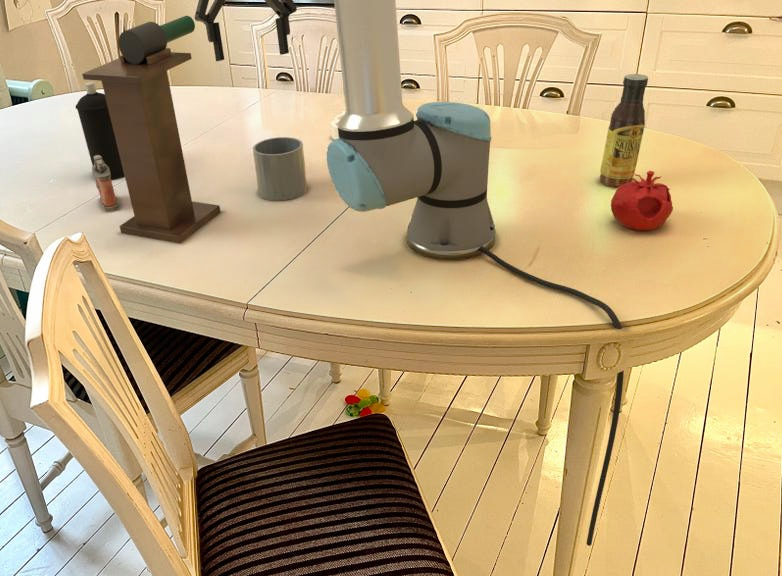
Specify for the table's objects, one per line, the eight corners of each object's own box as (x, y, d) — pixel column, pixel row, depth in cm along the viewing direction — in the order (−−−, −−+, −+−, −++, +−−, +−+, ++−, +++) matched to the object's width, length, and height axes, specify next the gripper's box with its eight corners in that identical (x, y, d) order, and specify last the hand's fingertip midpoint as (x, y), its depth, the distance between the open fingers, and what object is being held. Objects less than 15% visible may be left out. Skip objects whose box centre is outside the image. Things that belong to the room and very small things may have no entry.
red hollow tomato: (596, 221, 131) (603, 170, 126) (636, 205, 135) (645, 156, 129) (641, 241, 124) (651, 189, 119) (682, 224, 128) (694, 173, 122)
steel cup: (315, 192, 151) (311, 147, 146) (270, 204, 148) (265, 159, 142) (293, 177, 159) (289, 133, 153) (251, 188, 155) (245, 144, 150)
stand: (165, 202, 153) (131, 43, 135) (222, 211, 147) (194, 45, 129) (119, 234, 142) (75, 65, 124) (178, 244, 137) (141, 69, 118)
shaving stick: (179, 39, 140) (173, 8, 137) (202, 40, 138) (197, 8, 134) (122, 63, 128) (115, 30, 125) (147, 64, 126) (140, 30, 122)
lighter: (98, 198, 157) (86, 153, 151) (114, 195, 158) (103, 149, 152) (104, 212, 151) (91, 165, 145) (121, 209, 152) (109, 162, 146)
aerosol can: (121, 180, 165) (98, 88, 153) (87, 180, 166) (62, 89, 155) (136, 166, 171) (115, 77, 159) (103, 166, 173) (80, 78, 161)
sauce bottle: (608, 190, 141) (625, 83, 130) (593, 178, 146) (608, 74, 135) (640, 185, 142) (660, 79, 130) (624, 173, 147) (642, 70, 135)
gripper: (287, -63, 145) (301, 53, 152) (164, -59, 135) (186, 65, 142) (304, -73, 138) (318, 49, 145) (176, -69, 129) (198, 61, 136)
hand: (253, 57), depth 144 cm, fingers open, 13 cm apart
